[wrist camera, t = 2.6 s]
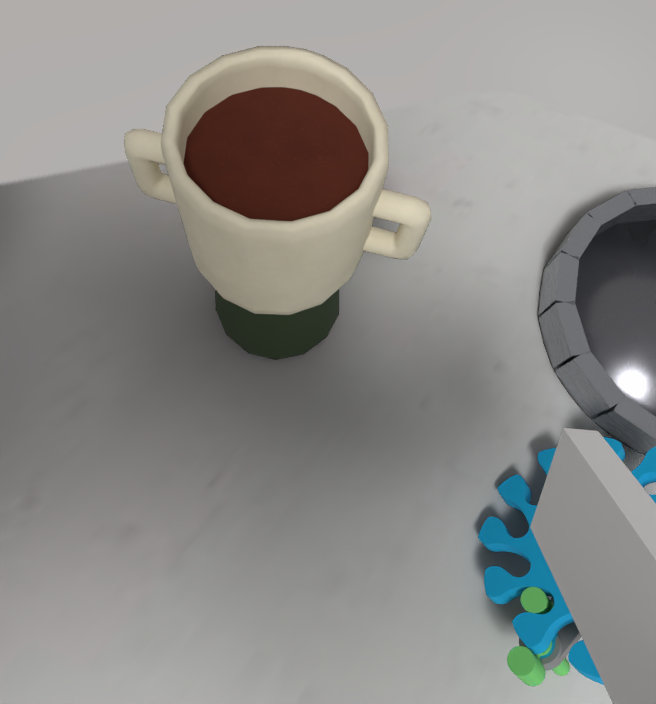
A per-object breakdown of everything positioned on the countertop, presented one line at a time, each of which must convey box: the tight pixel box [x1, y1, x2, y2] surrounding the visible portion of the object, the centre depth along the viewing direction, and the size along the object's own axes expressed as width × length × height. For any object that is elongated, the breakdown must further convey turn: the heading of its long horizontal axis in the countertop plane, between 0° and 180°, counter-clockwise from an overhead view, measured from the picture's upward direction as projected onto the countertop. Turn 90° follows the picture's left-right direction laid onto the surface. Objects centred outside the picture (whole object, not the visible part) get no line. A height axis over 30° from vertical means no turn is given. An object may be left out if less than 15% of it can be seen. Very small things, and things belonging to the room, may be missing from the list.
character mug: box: [124, 46, 431, 360], centre depth 23 cm, size 11×7×13 cm, turn 77°
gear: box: [478, 437, 656, 686], centre depth 24 cm, size 11×6×10 cm
